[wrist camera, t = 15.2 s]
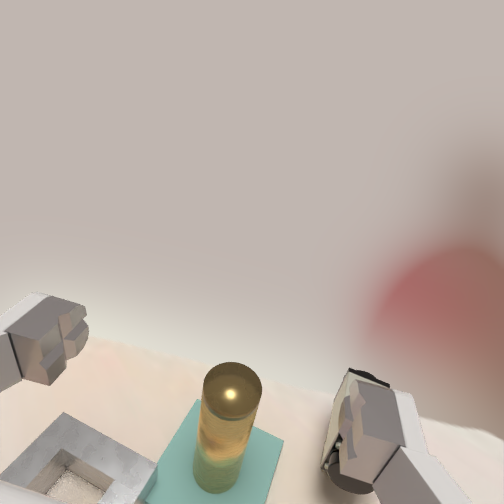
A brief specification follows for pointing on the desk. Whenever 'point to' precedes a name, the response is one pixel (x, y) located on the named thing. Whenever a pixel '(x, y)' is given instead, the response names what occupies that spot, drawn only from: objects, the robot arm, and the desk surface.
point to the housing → (83, 463)
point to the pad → (181, 469)
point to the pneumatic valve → (334, 438)
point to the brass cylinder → (225, 425)
